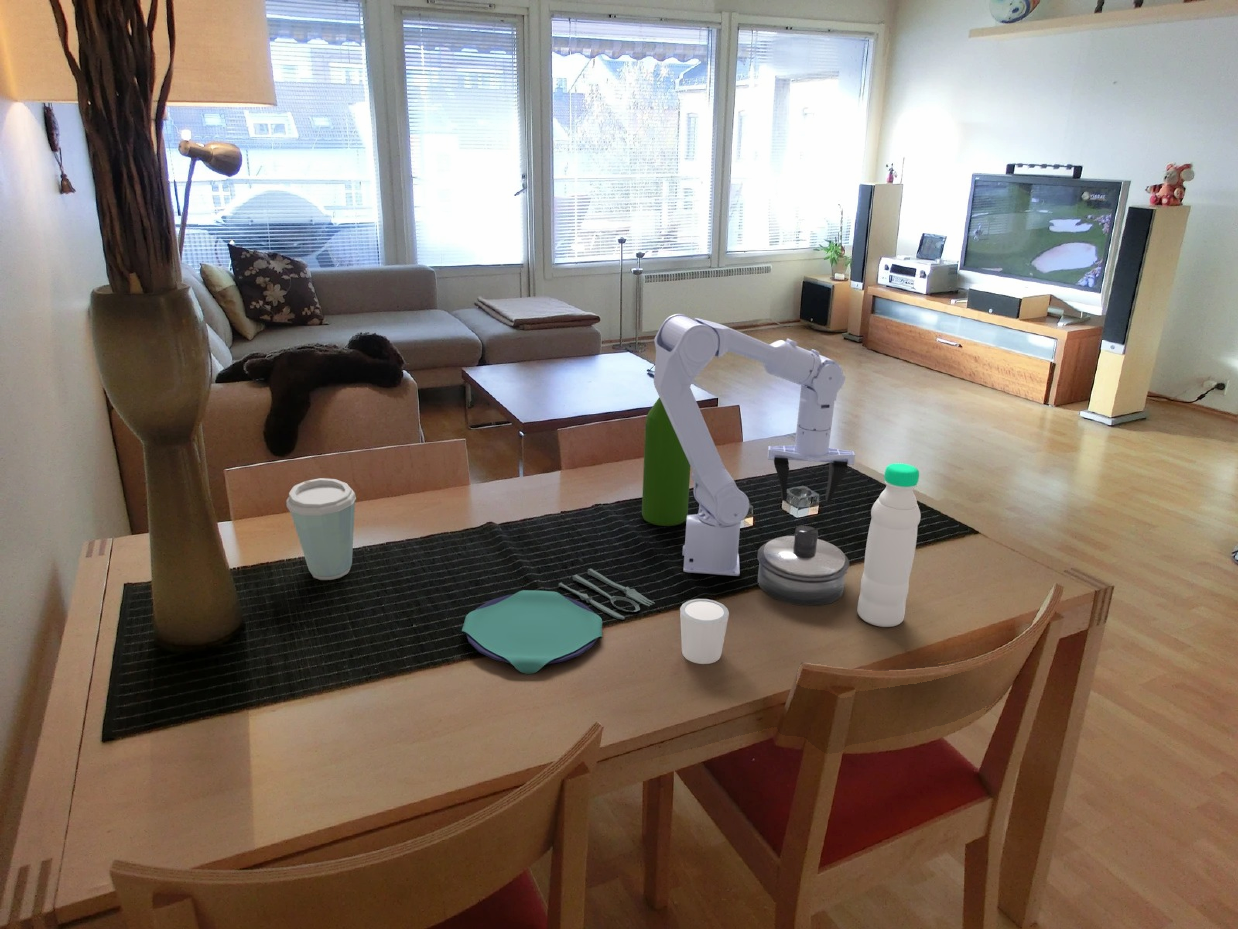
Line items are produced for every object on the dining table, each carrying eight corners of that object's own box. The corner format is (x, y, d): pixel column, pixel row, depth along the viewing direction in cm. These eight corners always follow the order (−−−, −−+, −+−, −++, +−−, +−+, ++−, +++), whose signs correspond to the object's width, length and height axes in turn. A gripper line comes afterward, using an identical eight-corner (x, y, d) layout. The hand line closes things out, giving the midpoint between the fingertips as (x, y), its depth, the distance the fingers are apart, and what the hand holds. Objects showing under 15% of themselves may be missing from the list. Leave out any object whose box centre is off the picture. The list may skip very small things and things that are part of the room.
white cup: (712, 672, 118) (715, 628, 116) (668, 656, 121) (671, 613, 119) (733, 649, 124) (737, 606, 121) (691, 635, 127) (693, 593, 124)
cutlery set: (437, 633, 126) (437, 619, 125) (584, 571, 146) (585, 559, 146) (524, 693, 113) (524, 678, 112) (672, 616, 134) (673, 603, 133)
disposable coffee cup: (375, 572, 142) (368, 489, 137) (315, 594, 135) (305, 507, 130) (341, 551, 149) (333, 471, 144) (282, 571, 142) (272, 488, 136)
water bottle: (878, 633, 129) (902, 478, 120) (846, 611, 135) (867, 462, 126) (913, 622, 132) (939, 471, 123) (880, 602, 138) (903, 456, 129)
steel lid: (763, 574, 135) (766, 544, 133) (762, 539, 147) (765, 511, 145) (848, 582, 133) (852, 551, 131) (840, 546, 145) (843, 518, 144)
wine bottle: (695, 514, 168) (705, 352, 157) (673, 530, 161) (682, 361, 150) (656, 504, 173) (663, 345, 161) (633, 518, 166) (639, 354, 154)
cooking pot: (757, 603, 136) (759, 575, 135) (753, 561, 150) (755, 535, 148) (851, 610, 135) (855, 582, 133) (839, 567, 149) (842, 541, 147)
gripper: (772, 430, 142) (765, 505, 147) (861, 435, 141) (851, 511, 145) (769, 418, 149) (763, 490, 153) (855, 423, 147) (845, 495, 152)
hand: (805, 499), depth 150 cm, fingers open, 7 cm apart
